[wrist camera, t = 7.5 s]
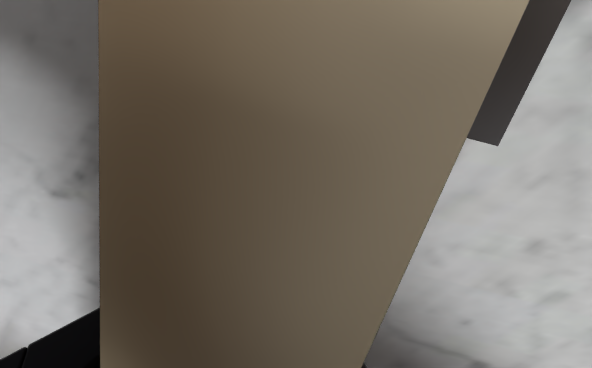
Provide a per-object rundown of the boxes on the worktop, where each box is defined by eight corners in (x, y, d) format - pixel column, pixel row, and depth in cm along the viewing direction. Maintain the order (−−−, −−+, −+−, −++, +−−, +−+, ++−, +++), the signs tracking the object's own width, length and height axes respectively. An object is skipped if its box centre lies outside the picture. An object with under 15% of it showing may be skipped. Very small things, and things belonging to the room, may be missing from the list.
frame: (306, 438, 15) (298, 577, 11) (153, 396, 16) (87, 518, 11) (535, -116, 7) (813, -362, 3) (207, -198, 7) (44, -543, 3)
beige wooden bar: (417, -15, 7) (621, -203, 2) (268, 433, 13) (232, 648, 8) (260, -55, 7) (96, -332, 2) (186, 410, 13) (101, 611, 8)
